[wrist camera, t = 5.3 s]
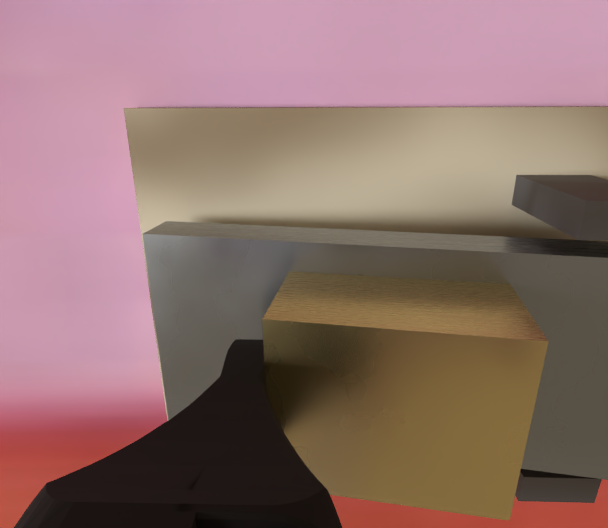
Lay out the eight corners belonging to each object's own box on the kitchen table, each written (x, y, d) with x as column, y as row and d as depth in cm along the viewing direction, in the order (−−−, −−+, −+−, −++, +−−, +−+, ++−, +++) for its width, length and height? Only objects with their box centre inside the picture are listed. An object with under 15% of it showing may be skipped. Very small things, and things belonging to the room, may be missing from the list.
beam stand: (813, 446, 19) (975, 559, 14) (178, 434, 20) (135, 537, 15) (990, 105, 14) (1325, 107, 9) (135, 108, 15) (52, 110, 10)
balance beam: (1036, 496, 12) (1118, 545, 11) (186, 396, 17) (168, 423, 15) (1216, 269, 10) (1349, 296, 9) (166, 221, 14) (142, 233, 13)
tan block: (484, 433, 13) (509, 520, 11) (292, 411, 14) (270, 486, 12) (509, 283, 12) (548, 341, 9) (289, 270, 13) (262, 318, 10)
